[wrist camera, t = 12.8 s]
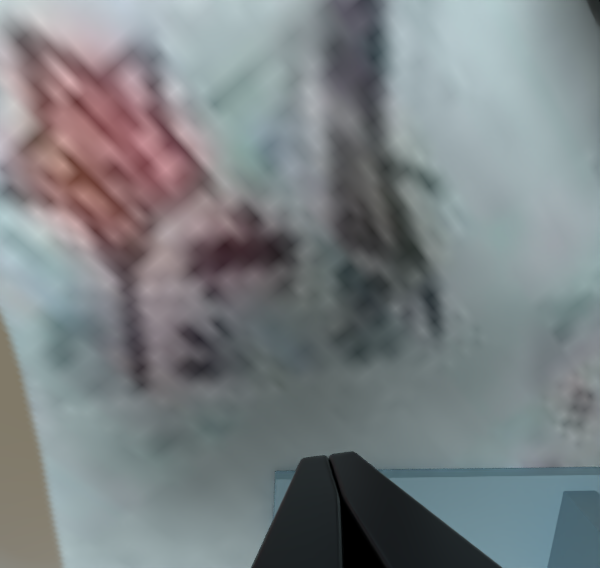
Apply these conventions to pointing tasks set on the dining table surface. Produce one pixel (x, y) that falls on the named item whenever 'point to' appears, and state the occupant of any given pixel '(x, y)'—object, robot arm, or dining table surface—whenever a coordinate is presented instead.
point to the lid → (509, 510)
